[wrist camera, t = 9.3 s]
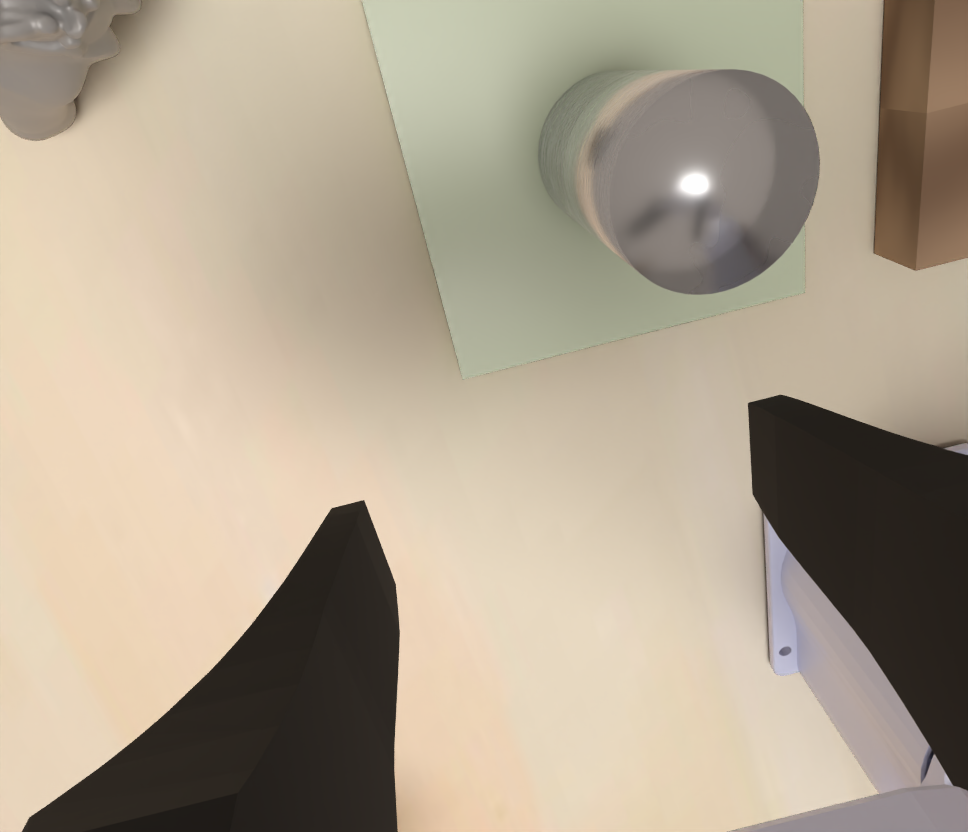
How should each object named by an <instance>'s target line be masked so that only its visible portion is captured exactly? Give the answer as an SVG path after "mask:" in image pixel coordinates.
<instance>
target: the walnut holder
mask: <svg viewBox="0 0 968 832" xmlns="http://www.w3.org/2000/svg"><path fill="white" fill-rule="evenodd" d="M874 254H877V255H879V256H882V257H884V258H886V259H889V260H891V261H894V262H896V263H898V264H901V265H903V266H906V267H908V268H910V269H913V270H915V271H917V270H921V269H925V268H928V267H932V266H936V265H940V264H944V263H948V262H952V261H956V260H960V259H964V258H968V0H885V2H884V26H883V50H882V75H881V99H880V124H879V148H878V172H877V197H876V221H875V246H874Z"/></svg>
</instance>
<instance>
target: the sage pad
mask: <svg viewBox="0 0 968 832" xmlns="http://www.w3.org/2000/svg"><path fill="white" fill-rule="evenodd" d="M362 3H363V7H364V11H365V15H366V18H367V22H368V26H369V30H370V33H371V37H372V41H373V45H374V48H375V52H376V56H377V60H378V64H379V67H380V71H381V75H382V79H383V82H384V86H385V90H386V94H387V97H388V101H389V105H390V109H391V112H392V116H393V120H394V124H395V127H396V131H397V135H398V139H399V142H400V146H401V150H402V154H403V157H404V161H405V165H406V169H407V172H408V176H409V180H410V184H411V187H412V191H413V195H414V199H415V202H416V206H417V210H418V214H419V217H420V221H421V225H422V229H423V232H424V236H425V240H426V244H427V247H428V251H429V255H430V259H431V263H432V266H433V270H434V274H435V278H436V281H437V285H438V289H439V293H440V296H441V300H442V304H443V308H444V311H445V315H446V319H447V323H448V326H449V330H450V334H451V338H452V341H453V345H454V349H455V353H456V356H457V360H458V364H459V368H460V371H461V375H462V379H463V380H464V379H468V378H471V377H475V376H479V375H483V374H487V373H491V372H495V371H499V370H503V369H507V368H511V367H515V366H519V365H523V364H527V363H531V362H535V361H538V360H542V359H546V358H550V357H554V356H558V355H562V354H566V353H570V352H574V351H578V350H582V349H586V348H590V347H594V346H598V345H601V344H605V343H609V342H613V341H617V340H621V339H625V338H629V337H633V336H637V335H641V334H645V333H649V332H653V331H657V330H661V329H664V328H668V327H672V326H676V325H680V324H684V323H688V322H692V321H696V320H700V319H704V318H708V317H712V316H716V315H720V314H724V313H727V312H731V311H735V310H739V309H743V308H747V307H751V306H755V305H759V304H763V303H767V302H771V301H775V300H779V299H783V298H787V297H791V296H794V295H798V294H802V293H805V223H804V225H803V227H802V229H801V231H800V232H799V234H798V235H797V237H796V238H795V240H794V241H793V243H792V244H791V245H790V247H789V248H788V249H787V250H786V251H785V253H784V254H783V255H782V256H781V257H780V258H779V259H778V260H777V261H776V262H775V263H774V264H773V265H771V266H770V267H769V268H768V269H766V270H765V271H764V272H763V273H761V274H760V275H758V276H756V277H755V278H753V279H752V280H750V281H748V282H746V283H744V284H742V285H740V286H738V287H735V288H732V289H729V290H726V291H723V292H718V293H713V294H704V295H691V294H683V293H677V292H673V291H670V290H667V289H664V288H662V287H660V286H658V285H656V284H654V283H652V282H651V281H649V280H648V279H647V278H645V277H644V276H643V275H641V274H640V273H639V272H638V271H636V270H635V269H634V268H633V267H631V266H630V265H629V264H628V263H626V262H625V261H624V260H623V259H621V258H620V257H619V256H618V255H616V254H615V253H614V252H613V251H612V250H610V249H609V248H608V247H607V246H605V245H604V244H603V243H602V242H600V241H599V240H598V239H597V238H595V237H594V236H593V235H592V234H590V233H589V232H588V231H587V230H586V229H584V228H583V227H582V226H581V225H579V224H578V223H577V222H576V221H574V220H573V219H572V218H571V217H569V216H568V215H567V214H566V213H565V212H563V211H562V210H561V209H560V208H559V207H558V206H557V205H556V204H555V203H554V201H553V200H552V199H551V197H550V196H549V194H548V192H547V190H546V188H545V186H544V183H543V181H542V178H541V174H540V169H539V162H538V149H539V140H540V136H541V132H542V128H543V126H544V123H545V120H546V118H547V116H548V114H549V112H550V110H551V109H552V107H553V106H554V104H555V103H556V102H557V100H558V99H559V98H560V97H561V96H562V94H563V93H565V92H566V91H567V90H568V89H569V88H570V87H571V86H573V85H574V84H575V83H577V82H578V81H580V80H582V79H584V78H586V77H588V76H590V75H593V74H596V73H599V72H604V71H611V70H704V69H737V70H747V71H752V72H755V73H759V74H762V75H765V76H767V77H769V78H771V79H774V80H775V81H777V82H778V83H780V84H781V85H783V86H784V87H786V88H787V89H788V90H789V91H790V92H791V93H792V94H793V95H794V96H795V97H796V98H797V99H798V100H799V102H800V103H801V104H802V106H803V107H804V66H803V0H362Z"/></svg>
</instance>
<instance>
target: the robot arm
mask: <svg viewBox="0 0 968 832" xmlns="http://www.w3.org/2000/svg"><path fill="white" fill-rule="evenodd" d="M748 412H749V432H750V451H751V470H752V490H753V495H754V497H755V499H756V501H757V502H758V504H759V506H760V508H761V509H762V511H763V513H764V532H765V555H766V578H767V601H768V625H769V648H770V665H771V668H772V669H773V671H774V673H775V674H777V675H780V676H784V675H789V674H793V673H797V672H800V674H801V675H802V677H803V678H804V680H805V681H806V683H807V684H808V686H809V687H810V689H811V691H812V692H813V694H814V695H815V697H816V698H817V700H818V701H819V703H820V704H821V706H822V707H823V709H824V711H825V712H826V714H827V715H828V717H829V718H830V720H831V721H832V723H833V724H834V726H835V727H836V729H837V730H838V732H839V734H840V735H841V737H842V738H843V740H844V741H845V743H846V744H847V746H848V747H849V749H850V750H851V752H852V754H853V755H854V757H855V758H856V760H857V761H858V763H859V764H860V766H861V767H862V769H863V770H864V772H865V773H866V775H867V777H868V778H869V780H870V781H871V783H872V784H873V786H874V787H875V789H876V790H877V791H878V792H879V794H877V795H873V796H869V797H865V798H861V799H857V800H853V801H849V802H845V803H841V804H836V805H832V806H828V807H824V808H820V809H816V810H812V811H808V812H804V813H800V814H796V815H792V816H788V817H784V818H780V819H776V820H772V821H768V822H764V823H760V824H756V825H752V826H748V827H744V828H740V829H736V830H732V831H728V832H968V443H963V444H959V445H955V446H951V447H947V448H940V447H937V446H933V445H930V444H926V443H923V442H920V441H916V440H913V439H910V438H907V437H903V436H900V435H897V434H894V433H891V432H888V431H885V430H882V429H879V428H876V427H874V426H871V425H868V424H865V423H862V422H859V421H857V420H854V419H851V418H848V417H845V416H843V415H840V414H837V413H834V412H832V411H829V410H826V409H823V408H821V407H818V406H815V405H812V404H809V403H806V402H804V401H801V400H798V399H794V398H791V397H787V396H784V395H778V396H774V397H770V398H766V399H762V400H758V401H754V402H750V403H748ZM399 637H400V630H399V617H398V605H397V594H396V584H395V581H394V579H393V576H392V573H391V571H390V568H389V565H388V563H387V560H386V557H385V555H384V552H383V549H382V547H381V544H380V541H379V539H378V536H377V533H376V531H375V528H374V525H373V523H372V520H371V517H370V515H369V512H368V509H367V507H366V504H365V501H364V500H363V501H359V502H355V503H351V504H347V505H343V506H339V507H335V508H332V509H331V510H330V512H329V513H328V515H327V516H326V518H325V519H324V521H323V523H322V524H321V526H320V527H319V529H318V530H317V532H316V533H315V535H314V537H313V538H312V540H311V541H310V543H309V544H308V546H307V547H306V549H305V551H304V552H303V554H302V555H301V557H300V558H299V560H298V561H297V563H296V564H295V566H294V567H293V569H292V570H291V572H290V573H289V575H288V576H287V578H286V579H285V581H284V582H283V583H282V585H281V586H280V587H279V589H278V590H277V592H276V593H275V594H274V596H273V597H272V598H271V600H270V601H269V602H268V604H267V605H266V606H265V608H264V609H263V610H262V612H261V613H260V614H259V616H258V617H257V618H256V620H255V621H254V622H253V623H252V625H251V626H250V627H249V628H248V629H247V631H246V632H245V633H244V634H243V635H242V637H241V638H240V639H239V640H238V641H237V642H236V643H235V645H234V646H233V647H232V648H231V649H230V650H229V651H228V652H227V653H226V655H225V656H224V657H223V658H222V659H221V660H220V661H219V662H218V663H217V664H216V665H215V666H214V667H213V669H212V670H211V671H210V672H209V673H208V674H207V675H206V676H205V677H203V678H202V679H201V680H200V681H199V682H198V683H197V684H196V685H195V686H194V687H193V688H192V689H191V690H190V691H189V692H188V693H187V694H186V695H185V696H184V697H183V698H182V699H181V700H179V701H178V702H177V703H176V704H175V705H174V706H173V707H172V708H171V709H170V710H169V711H168V712H167V713H166V714H165V715H163V716H162V717H161V718H160V719H159V720H158V721H157V722H155V723H154V724H153V725H152V726H151V727H150V728H148V729H147V730H146V731H145V732H144V733H143V734H141V735H140V736H139V737H138V738H137V739H135V740H134V741H133V742H132V743H130V744H129V745H128V746H127V747H125V748H124V749H123V750H122V751H120V752H119V753H118V754H117V755H115V756H114V757H113V758H112V759H110V760H109V761H108V762H106V763H105V764H104V765H102V766H101V767H100V768H99V769H97V770H96V771H95V772H93V773H92V774H90V775H89V776H88V777H86V778H85V779H83V780H82V781H81V782H79V783H78V784H76V785H75V786H74V787H72V788H71V789H69V790H68V791H67V792H65V793H64V794H62V795H61V796H60V797H58V798H57V799H55V800H54V801H53V802H51V803H50V804H49V805H47V806H46V807H44V808H43V809H41V810H40V811H38V812H37V813H35V814H34V815H32V816H31V817H29V819H28V821H27V823H26V825H25V827H24V829H23V831H22V832H398V831H397V814H396V795H395V776H394V741H395V721H396V702H397V682H398V661H399Z"/></svg>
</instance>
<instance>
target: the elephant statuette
mask: <svg viewBox="0 0 968 832" xmlns="http://www.w3.org/2000/svg"><path fill="white" fill-rule="evenodd" d="M140 8H141V0H0V117H1V119H2V121H3V122H4V124H5V125H6V127H7V128H8V129H9V130H10V131H11V132H13V133H14V134H15V135H17V136H19V137H21V138H23V139H26V140H32V141H40V140H45V139H48V138H51V137H53V136H55V135H57V134H59V133H61V132H63V131H64V130H66V129H67V128H69V127H70V126H71V125H72V123H73V122H74V120H75V117H76V106H75V103H74V101H73V100H74V99H75V98H76V97H77V96H78V94H79V93H80V91H81V89H82V87H83V85H84V82H85V79H86V75H87V72H88V69H89V67H90V66H91V65H92V64H94V63H96V62H98V61H101V60H104V59H109V58H111V57H114V56H116V55H117V54H118V53H119V51H120V44H119V42H118V39H117V37H116V36H115V34H114V33H113V31H112V30H111V28H110V27H109V26H110V24H111V22H112V19H113V16H114V15H118V14H134V13H137V12H138V11H139V10H140Z"/></svg>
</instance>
